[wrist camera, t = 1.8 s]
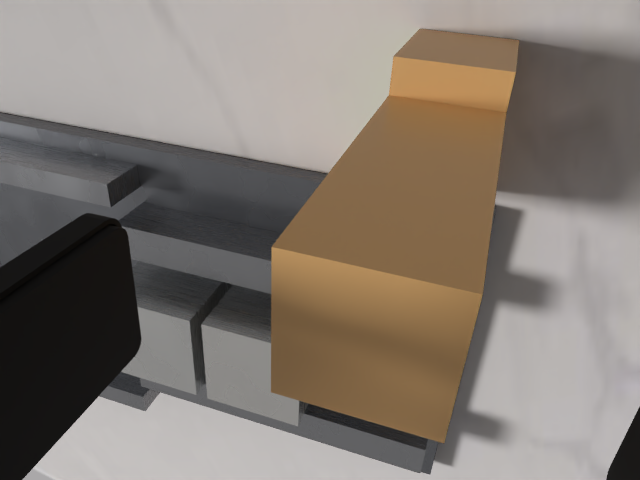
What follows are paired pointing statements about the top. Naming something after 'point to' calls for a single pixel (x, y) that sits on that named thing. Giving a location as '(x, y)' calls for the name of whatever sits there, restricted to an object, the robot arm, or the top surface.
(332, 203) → the tan stepped beam
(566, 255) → the top surface
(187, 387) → the chip
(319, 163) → the top surface
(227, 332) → the grey cube
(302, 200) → the slot board
